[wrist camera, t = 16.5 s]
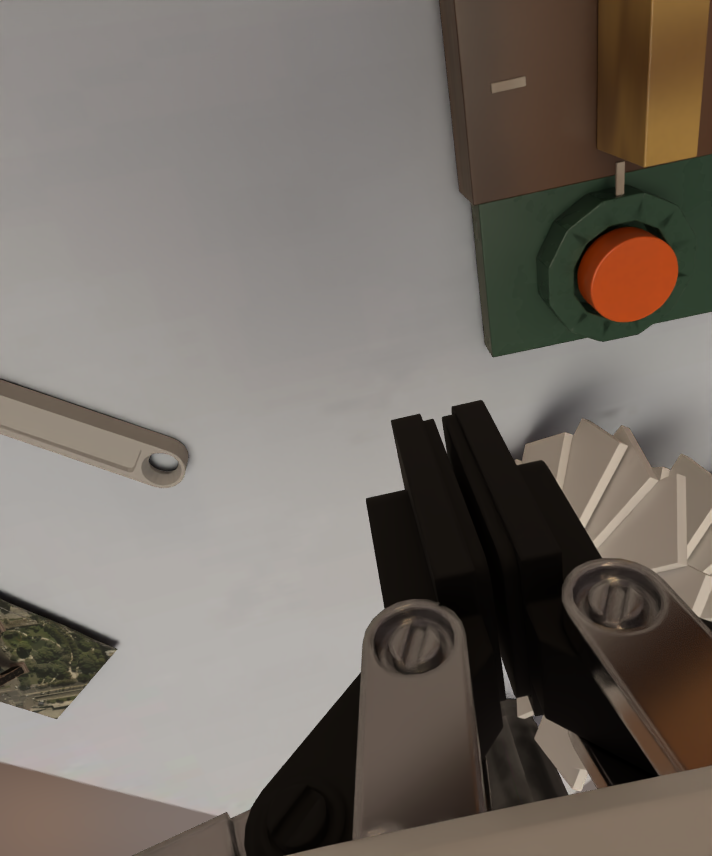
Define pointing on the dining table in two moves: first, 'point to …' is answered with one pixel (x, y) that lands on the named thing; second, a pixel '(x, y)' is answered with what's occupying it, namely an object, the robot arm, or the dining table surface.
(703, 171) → the button housing
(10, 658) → the eiffel tower figurine
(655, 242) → the button
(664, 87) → the yellow box red tab
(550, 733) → the spiral staircase
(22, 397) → the adjustable wrench
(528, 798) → the beverage cup
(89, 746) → the dining table surface
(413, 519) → the robot arm
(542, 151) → the control panel
